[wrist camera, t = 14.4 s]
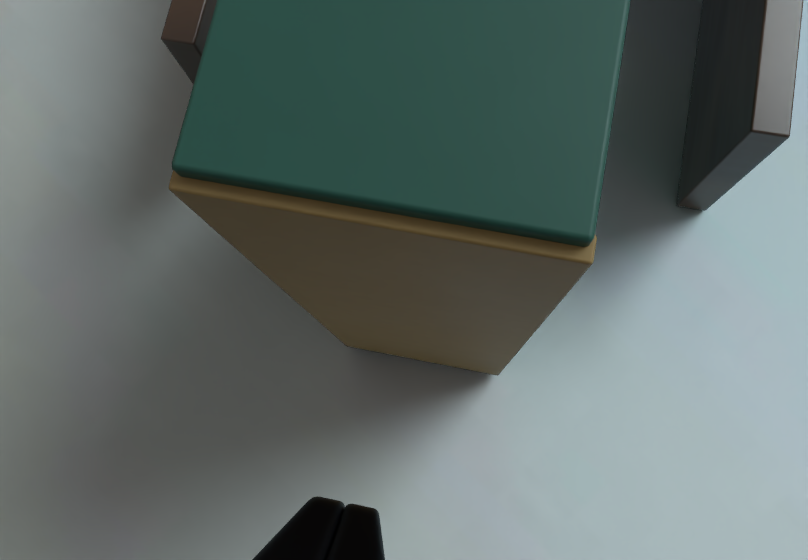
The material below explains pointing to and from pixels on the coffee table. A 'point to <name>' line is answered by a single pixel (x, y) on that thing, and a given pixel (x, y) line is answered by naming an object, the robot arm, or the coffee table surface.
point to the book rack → (710, 96)
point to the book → (408, 161)
